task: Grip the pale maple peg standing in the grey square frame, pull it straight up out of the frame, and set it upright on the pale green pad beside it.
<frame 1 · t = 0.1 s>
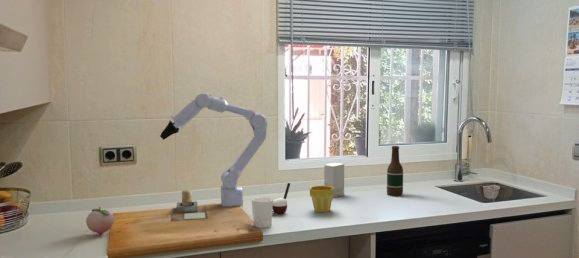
hand: (161, 136, 189), 32 cm above the worktop, tool tilted 50°, fingers open, 7 cm apart
plant pot: (321, 210, 192), on the worktop
walnut board: (189, 216, 183), on the worktop
white cup: (262, 226, 170), on the worktop
skincare box: (334, 195, 220), on the worktop
decorative fruit: (100, 235, 160), on the worktop
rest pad: (194, 216, 178), resting on walnut board
grey square frame: (187, 207, 187), on the walnut board, point 3 cm above the worktop
cocoa: (280, 213, 188), on the worktop
maple peg: (186, 200, 187), in the grey square frame, point 6 cm above the worktop, touching walnut board
beer bottle: (394, 195, 220), on the worktop
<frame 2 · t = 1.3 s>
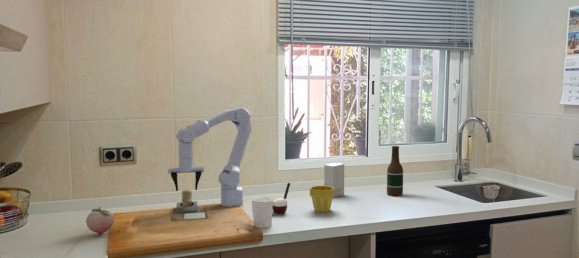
hand: (186, 190, 187), 10 cm above the worktop, tool pointing down, fingers open, 7 cm apart
nothing on the worktop moved.
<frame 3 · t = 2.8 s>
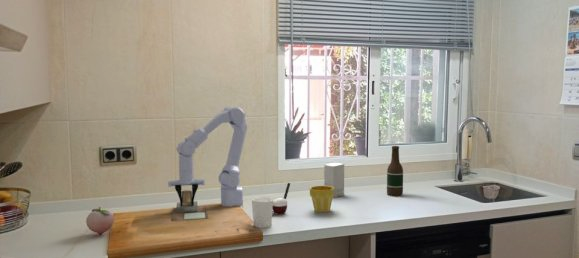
hand: (187, 202, 187), 5 cm above the worktop, tool pointing down, fingers closed on maple peg, 4 cm apart
maple peg: (186, 200, 187), in the grey square frame, point 6 cm above the worktop, touching gripper, walnut board
everything else where it was.
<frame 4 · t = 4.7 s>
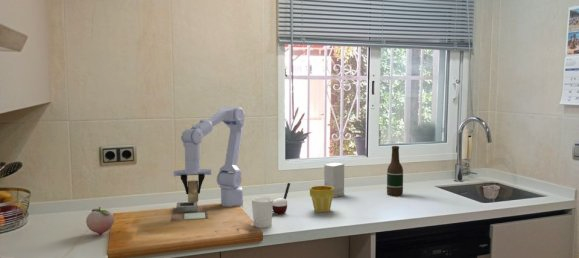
hand: (193, 193, 178), 10 cm above the worktop, tool pointing down, fingers closed on maple peg, 4 cm apart
maple peg: (193, 191, 178), point 11 cm above the worktop, touching gripper
everything else where it was.
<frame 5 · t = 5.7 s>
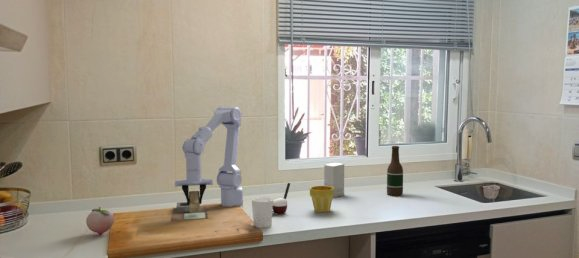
hand: (194, 203, 177), 7 cm above the worktop, tool pointing down, fingers closed on maple peg, 4 cm apart
maple peg: (194, 201, 177), point 7 cm above the worktop, touching gripper
everything else where it was.
when the fingers open (6 cm above the worktop, at t = 6.6 s): maple peg drops 1 cm, resting on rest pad.
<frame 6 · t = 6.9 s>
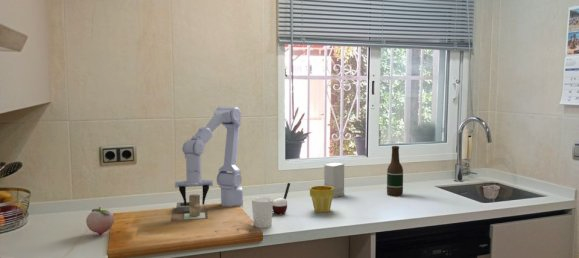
hand: (194, 204, 177), 6 cm above the worktop, tool pointing down, fingers open, 6 cm apart
maple peg: (194, 205, 178), point 6 cm above the worktop, touching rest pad
everything else where it was.
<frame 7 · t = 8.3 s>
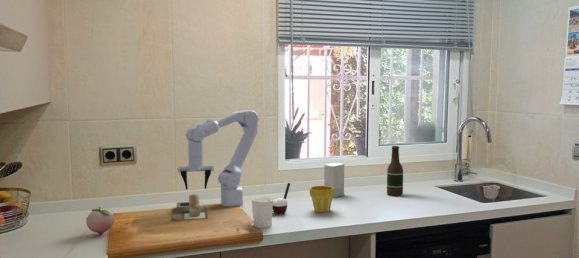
hand: (196, 188, 188), 10 cm above the worktop, tool pointing down, fingers open, 7 cm apart
nothing on the worktop moved.
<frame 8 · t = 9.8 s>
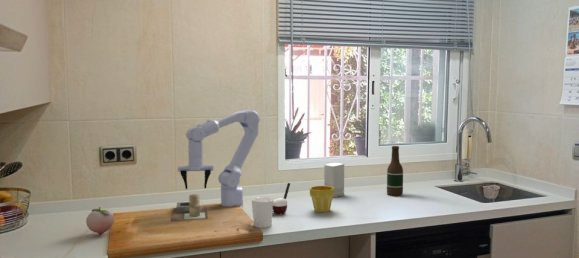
hand: (195, 188, 188), 10 cm above the worktop, tool pointing down, fingers open, 7 cm apart
nothing on the worktop moved.
at the end: maple peg 0.1 cm off-centre on the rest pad, point 4.3 cm above the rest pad's base; maple peg tilted 1°; the gripper is holding nothing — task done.
